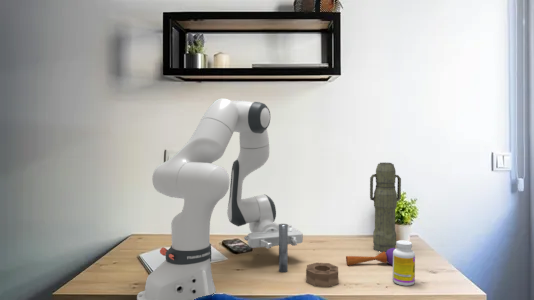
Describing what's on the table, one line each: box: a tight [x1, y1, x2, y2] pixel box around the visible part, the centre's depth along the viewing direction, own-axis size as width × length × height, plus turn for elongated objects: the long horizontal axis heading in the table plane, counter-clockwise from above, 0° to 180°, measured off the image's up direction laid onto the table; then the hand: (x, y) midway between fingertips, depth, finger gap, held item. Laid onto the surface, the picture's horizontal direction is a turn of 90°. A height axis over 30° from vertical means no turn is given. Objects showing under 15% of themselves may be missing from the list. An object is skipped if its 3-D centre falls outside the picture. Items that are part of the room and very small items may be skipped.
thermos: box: [369, 162, 402, 253], centre depth 155 cm, size 9×12×35 cm
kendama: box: [345, 247, 397, 266], centre depth 138 cm, size 6×6×20 cm
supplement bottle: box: [392, 239, 416, 287], centre depth 122 cm, size 7×7×13 cm
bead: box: [305, 262, 339, 288], centre depth 123 cm, size 10×10×4 cm
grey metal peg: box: [278, 223, 289, 273], centre depth 132 cm, size 3×3×16 cm
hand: (282, 244), depth 132 cm, fingers open, 8 cm apart
